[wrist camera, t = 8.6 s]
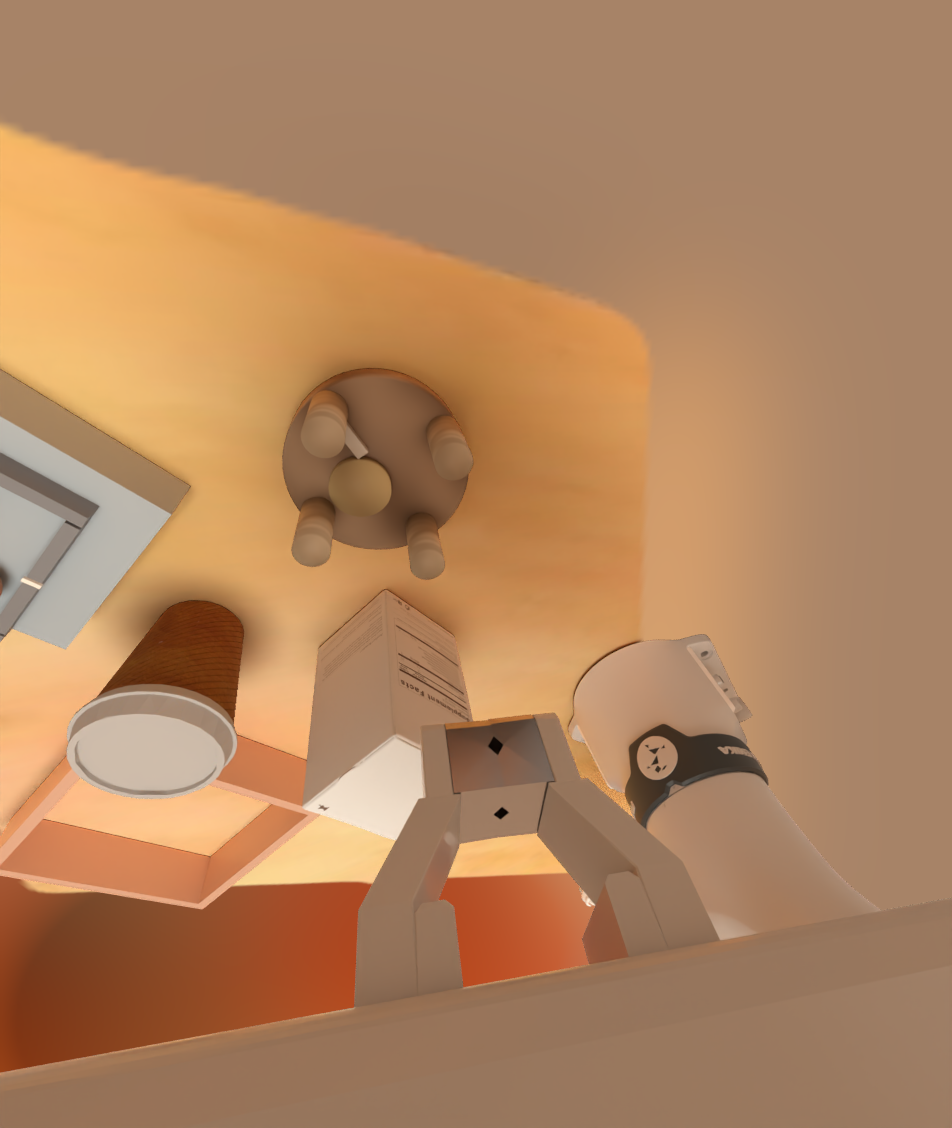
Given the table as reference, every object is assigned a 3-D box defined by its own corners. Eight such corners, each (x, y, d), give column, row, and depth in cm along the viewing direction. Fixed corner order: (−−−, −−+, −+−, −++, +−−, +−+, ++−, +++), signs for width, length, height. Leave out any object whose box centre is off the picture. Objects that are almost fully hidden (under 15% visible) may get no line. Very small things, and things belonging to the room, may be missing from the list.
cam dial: (400, 327, 30) (408, 353, 24) (494, 478, 37) (518, 529, 31) (244, 433, 32) (215, 483, 26) (361, 559, 39) (360, 621, 33)
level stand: (190, 486, 33) (162, 528, 29) (91, 612, 37) (52, 667, 33) (-22, 356, 27) (-101, 383, 23) (-112, 524, 31) (-195, 576, 27)
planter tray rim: (326, 767, 53) (322, 812, 49) (213, 862, 59) (202, 909, 55) (121, 692, 42) (95, 742, 38) (11, 818, 49) (-21, 871, 45)
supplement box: (391, 689, 48) (398, 846, 36) (315, 647, 43) (295, 811, 31) (458, 636, 46) (491, 785, 33) (386, 585, 41) (394, 736, 29)
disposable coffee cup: (244, 575, 38) (201, 695, 28) (278, 661, 43) (251, 787, 34) (112, 593, 37) (20, 724, 27) (164, 679, 42) (103, 814, 33)
